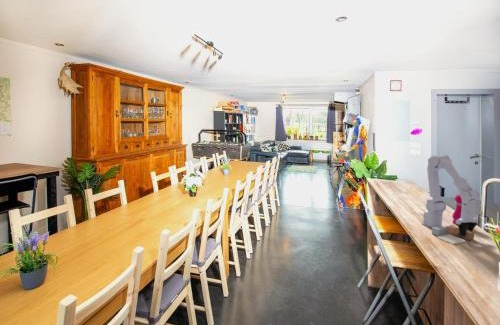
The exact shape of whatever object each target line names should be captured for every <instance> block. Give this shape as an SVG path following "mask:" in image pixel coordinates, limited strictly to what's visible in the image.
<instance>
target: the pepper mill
mask: <svg viewBox="0 0 500 325" xmlns="http://www.w3.org/2000/svg"><path fill="white" fill-rule="evenodd" d="M460 194H461V193H460V192H459V194H457V195H456V196H455V197H454V200H455V205H456V206H455V210H454V211H453V213H452V215H451V216H452V219H453V220H452V223H453V225H457V224H456V220H458V219H459V218H461V210H462V199H461V197H460Z"/></svg>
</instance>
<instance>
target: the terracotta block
mask: <svg viewBox="0 0 500 325" xmlns="http://www.w3.org/2000/svg"><path fill="white" fill-rule="evenodd" d="M445 228H447V230H446V235H448V234H450V235H453V236H456V235H458V229H459V227H458V225H456V224H451V225H446V226H445Z"/></svg>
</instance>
